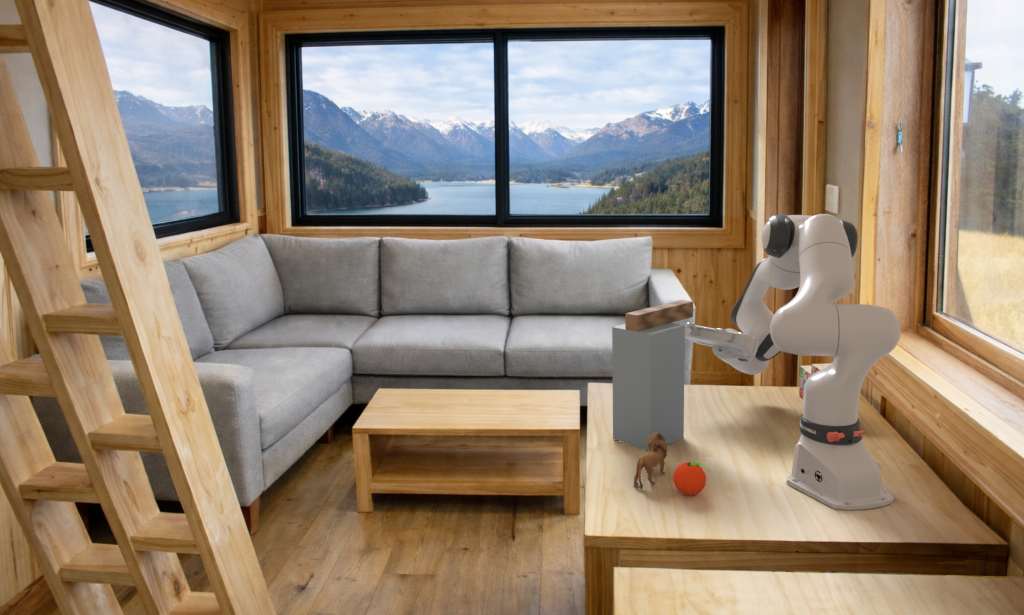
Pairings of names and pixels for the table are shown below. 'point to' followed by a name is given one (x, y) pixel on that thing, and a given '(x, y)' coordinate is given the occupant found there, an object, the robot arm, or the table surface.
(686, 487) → the clementine
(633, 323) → the bar
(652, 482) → the lion figurine
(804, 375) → the stack of blocks
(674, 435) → the stand
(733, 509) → the table surface
